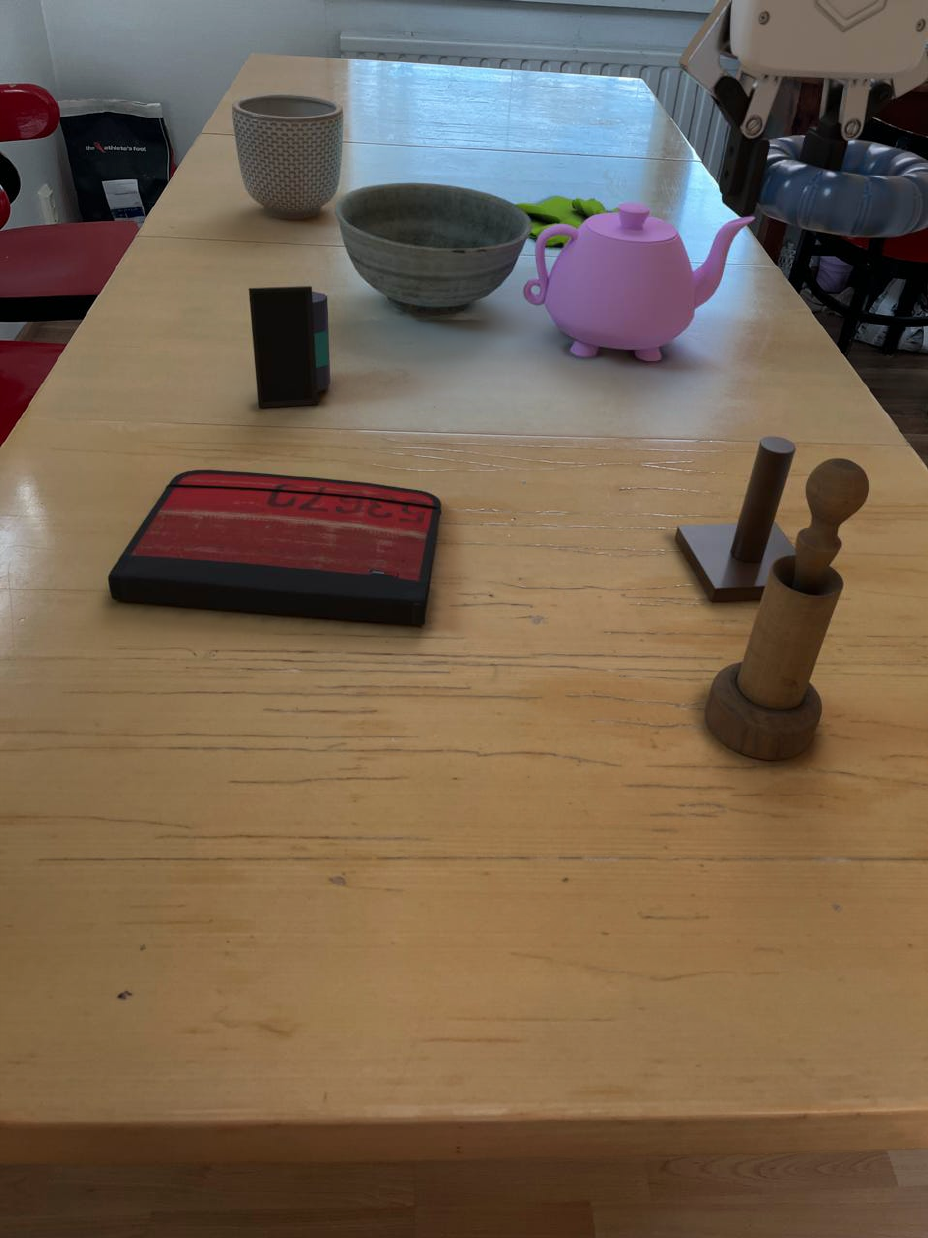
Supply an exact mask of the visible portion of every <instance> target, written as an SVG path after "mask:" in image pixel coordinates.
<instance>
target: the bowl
mask: <svg viewBox="0 0 928 1238" xmlns="http://www.w3.org/2000/svg"><path fill="white" fill-rule="evenodd" d="M515 204H516V203H513V202H511V201H509V200H507V199H505V198H503V197H499V196H497V195H494V194H492V193H488V192H485V191H481V190H477V189H473V188H467V187H462V186H456V185H451V184H441V183H434V182H416V181H415V182H412V181H411V182H391V183H380V184H373V185H368V186H363V187H360V188H357V189H354V190H351V191H349V192H347V193H346V194H344V195H342V196H341V197H340V198H339V199H338V200H337V201H336V203H335V204H334V205H335V206H334V210H333V211H334V212H333V213H334V215H335V217H336V219H337V221H338V224H339V230H340V233H341V238H342V241H343V244H344V248H345V250H346V253H347V255H348V257H349V259H350V262H351V263H352V265H353V268H354V270H356V272H357V273H358V275H359V276H360V277H361V279H363V280H364V281H365V282H366V283H367V284H368V285H369V286H370V287H372V288H373V289H374V290H375V291H377V292H378V293H381V294H382V295H384V296H386V299H387V300H388V302H389V303H390V304H391V305H393V307H395V308H396V309H399V310H401V311H402V312H403V311H404V312H406V313H410V314H413V315H417V316H423V317H437V318H438V317H448V316H453V315H457V314H460V313H463V312H464V311H466V310H467V309H469V306H471V305H470V304H471V303H473V302H476V301H480V300H482V299H484V298H486V297H488V296H490V295H491V294H492V293H493V292H494V291H496V290H497V289H498V288H499V287H501V285H503V283H504V282H505V281H506V279H507V278H508V277H509V276H510V275H511V274H512V272H513V271H514V269H515V266H516V265H517V263H518V260H519V257H520V255H521V253H522V251H523V249H524V246H525V244H526V241H527V240H528V238H529V237H528V236H529V235H530V233H531V230H532V224H531V219H530V217H529V216H528V215H527V214H526V213H525V212H524V211H523V210H522V209H521V208H519V207H518V206H517V205H515Z"/></svg>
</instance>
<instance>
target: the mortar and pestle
mask: <svg viewBox="0 0 928 1238" xmlns="http://www.w3.org/2000/svg"><path fill="white" fill-rule="evenodd" d="M869 492H870V481H869V477H868V475H867V473H866V470H865V469H864V468H863V467H861V465H859V464H858V463H856V462H854V461H852V460H850V459H848V458H842V457H834V458H828V459H826V460H824V461H822V462H820V463H819V464H818V465H816V466H815V468H814V469H813V470H812V471H811V472H810V473H809V476H808V478H807V480H806V484H805V497H806V501H807V505H808V508H809V511H810V516H811V518H810V519H811V520H810V525H809V526H807V527H803V528H801V529H800V530H799V531H798V532H797V534H796V540H795V549H796V555H788V556H783V557H780V558H778V559H777V560H775V561H774V562H773V563H772V565H771V568H770V571H769V575H768V578H767V582H766V585H765V588H764V592H763V595H762V599H760V602H759V606H758V609H757V612H756V616H755V619H754V621H753V622H754V623H753V625H752V628H751V632H750V635H749V639H748V642H747V646H746V647H745V648H746V649H745V652H744V656H743V659H742V661H737V662H735V663H732V664H729V665H727V666H725V667H723V668H722V669H721V670H720V671H718V673H716V675H715V676H714V678H713V679H712V682H711V686H710V689H709V692H708V696H707V699H706V702H705V703H706V704H705V706H704V718H705V722H706V725H707V727H708V729H709V731H710V732H711V733H712V734H713V736H714V737H715V738H716V739H717V740H718V741H720V742H721V743H722V744H723V745H724V746H726V747H727V748H729V749H731V750H733V751H735V752H737V753H739V754H742V755H745V756H748V757H751V758H754V759H759V760H765V761H780V760H787V759H790V758H793V757H796V756H798V755H799V754H801V753H802V752H804V751H805V750H807V748H808V747H809V746H810V745H811V743H812V741H813V739H814V737H815V734H816V731H817V727H818V725H819V722H820V721H821V720H820V719H821V716H822V712H823V703H822V698H821V696H820V694H819V692H818V690H817V689H816V688H815V686H814V685H813V684H812V683H811V682H810V681H811V678H812V674H813V673H814V669H815V667H816V663H817V660H818V657H819V654H820V651H821V649H822V646H823V643H824V640H825V637H826V635H827V632H828V629H829V627H830V623H831V620H832V618H833V615H834V612H835V610H836V608H837V604H838V602H839V600H840V598H841V595H842V591H843V588H844V580H843V577H842V575H841V574H840V573H839V572H838V571H837V570H836V569H835V568H833V567H832V566H831V564H832V563H833V562H834V560H835V559H836V557H837V555H838V554H839V552H840V550H841V548H842V545H843V542H842V540H841V538H840V536H839V530H840V527H841V525H842V524H843V523H845V522H846V521H847V520H849V519H850V518H851V517H852V516H853V515H855V514H856V513H857V512H858V511H859V510H861V508H863V506H864V505H865V504H866V502H867V500H868V496H869Z"/></svg>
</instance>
